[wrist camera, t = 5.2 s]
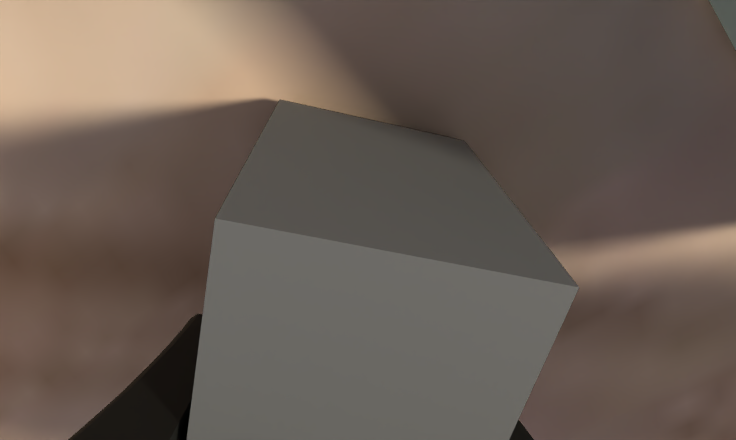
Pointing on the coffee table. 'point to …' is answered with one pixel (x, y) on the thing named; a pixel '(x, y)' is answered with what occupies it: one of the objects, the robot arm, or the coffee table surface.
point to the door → (726, 17)
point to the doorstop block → (370, 291)
